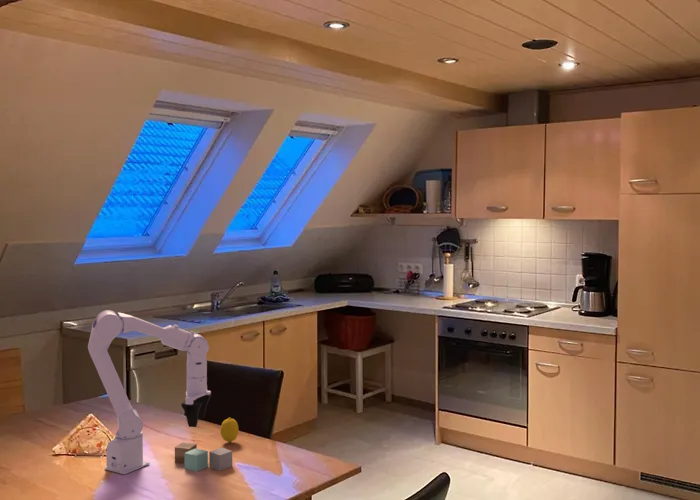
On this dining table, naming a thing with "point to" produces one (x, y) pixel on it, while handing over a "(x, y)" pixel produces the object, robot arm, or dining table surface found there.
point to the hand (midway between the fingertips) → (196, 422)
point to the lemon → (229, 430)
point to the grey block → (220, 459)
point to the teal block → (196, 459)
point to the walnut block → (183, 451)
